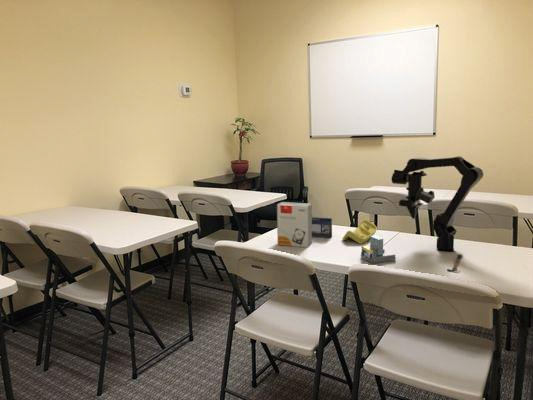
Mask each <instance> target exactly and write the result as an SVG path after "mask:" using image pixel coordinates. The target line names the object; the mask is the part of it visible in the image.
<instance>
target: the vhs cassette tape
mask: <svg viewBox="0 0 533 400" xmlns="http://www.w3.org/2000/svg"><path fill="white" fill-rule="evenodd" d="M322 237H323V239H331V238H332V237H333V219H332V217H318V216H317V217H316V216H315V217H314V216H312V238H322Z"/></svg>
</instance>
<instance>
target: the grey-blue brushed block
mask: <svg viewBox="0 0 533 400" xmlns="http://www.w3.org/2000/svg"><path fill="white" fill-rule="evenodd" d="M369 248H371V249H373V250H375V251H377V256H383V249H384V238H382V237H380V236H378V235H376V234H373V235H372V236H370V239H369ZM364 256H366V257H368V258H370V259H371V257H372V254H371V253H369V252H367V251H366V252H364Z"/></svg>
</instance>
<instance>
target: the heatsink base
mask: <svg viewBox="0 0 533 400" xmlns="http://www.w3.org/2000/svg"><path fill="white" fill-rule="evenodd" d="M366 251H367V252H369V253H371V254H372V257H371V259H370V258H368V257H366V256H364V252H366ZM360 258H361V259H362V260H364V261H365V262H367V263H369V264H371V265H377V264H383V263H384V262H385V263H389V262H396V259H397V258H396V254H394V253H391V254H390V253H388V252H386V251H385V248H383V256H377V251H375V250H373V249H371V248H370V246H369V247H368V246H367V245H362V246H361V252H360Z"/></svg>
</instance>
